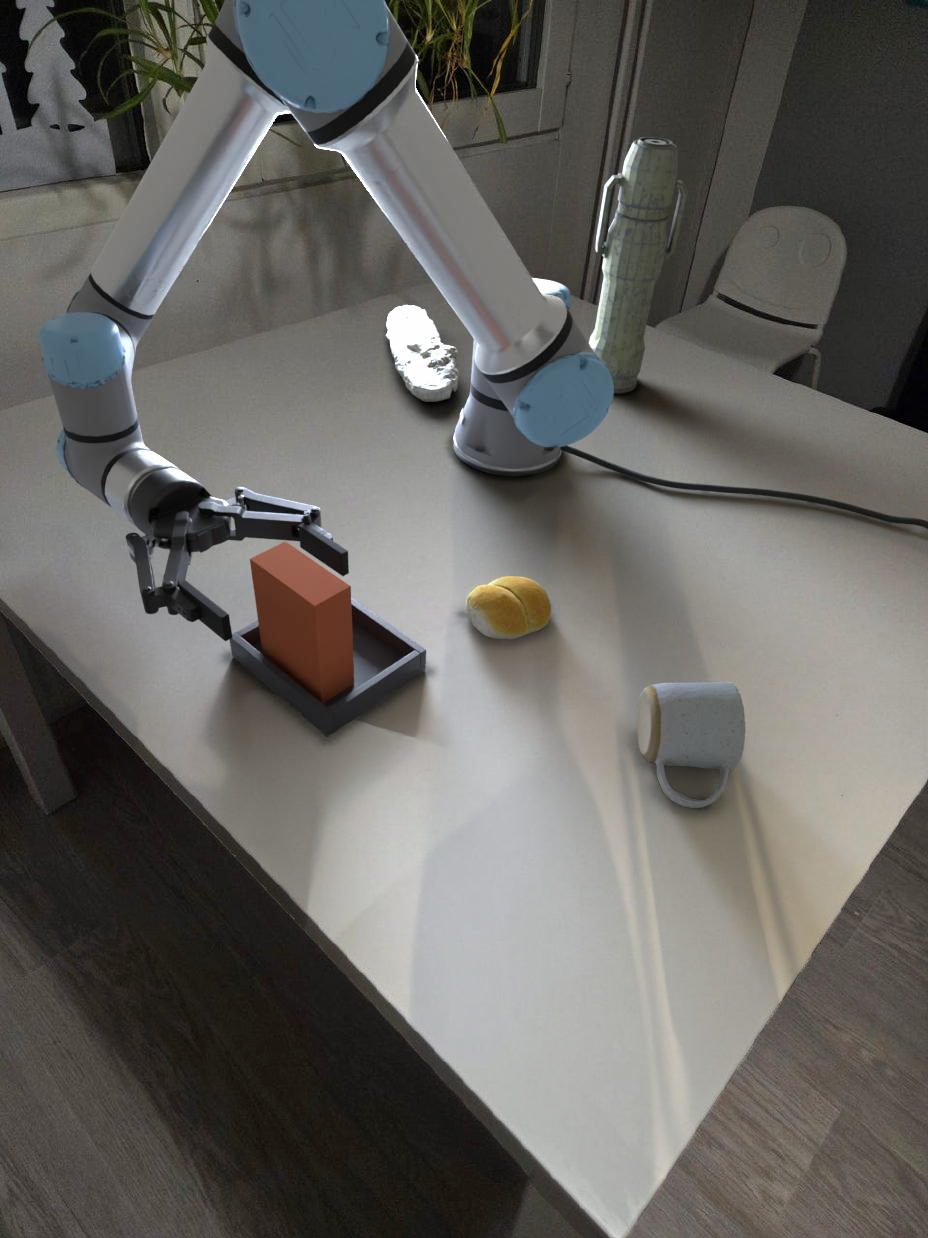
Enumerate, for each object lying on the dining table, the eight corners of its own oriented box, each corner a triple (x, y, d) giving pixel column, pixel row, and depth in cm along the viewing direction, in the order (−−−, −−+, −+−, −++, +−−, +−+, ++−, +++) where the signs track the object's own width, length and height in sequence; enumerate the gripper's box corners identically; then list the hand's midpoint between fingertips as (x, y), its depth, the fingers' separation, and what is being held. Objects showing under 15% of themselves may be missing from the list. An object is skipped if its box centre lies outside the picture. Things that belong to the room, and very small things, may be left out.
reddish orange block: (295, 637, 83) (285, 540, 75) (354, 683, 79) (350, 586, 71) (262, 656, 81) (249, 558, 73) (322, 704, 76) (314, 606, 69)
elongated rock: (432, 325, 152) (378, 329, 150) (431, 296, 149) (376, 300, 147) (470, 403, 125) (405, 408, 124) (470, 369, 122) (404, 374, 120)
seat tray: (330, 601, 89) (329, 581, 87) (425, 670, 82) (426, 649, 80) (232, 656, 82) (228, 635, 80) (327, 737, 75) (326, 716, 73)
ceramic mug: (628, 718, 79) (644, 661, 73) (712, 721, 79) (734, 665, 74) (647, 812, 71) (667, 756, 66) (740, 815, 71) (768, 759, 66)
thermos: (652, 393, 133) (708, 150, 110) (581, 393, 132) (623, 146, 109) (637, 370, 140) (687, 135, 117) (569, 369, 138) (606, 131, 115)
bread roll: (563, 624, 89) (569, 595, 86) (495, 652, 85) (499, 623, 82) (518, 582, 94) (522, 553, 91) (452, 606, 90) (454, 577, 87)
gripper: (261, 488, 96) (388, 570, 85) (54, 578, 81) (177, 690, 71) (255, 429, 91) (388, 509, 80) (33, 515, 76) (161, 625, 66)
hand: (289, 594), depth 76 cm, fingers open, 13 cm apart
